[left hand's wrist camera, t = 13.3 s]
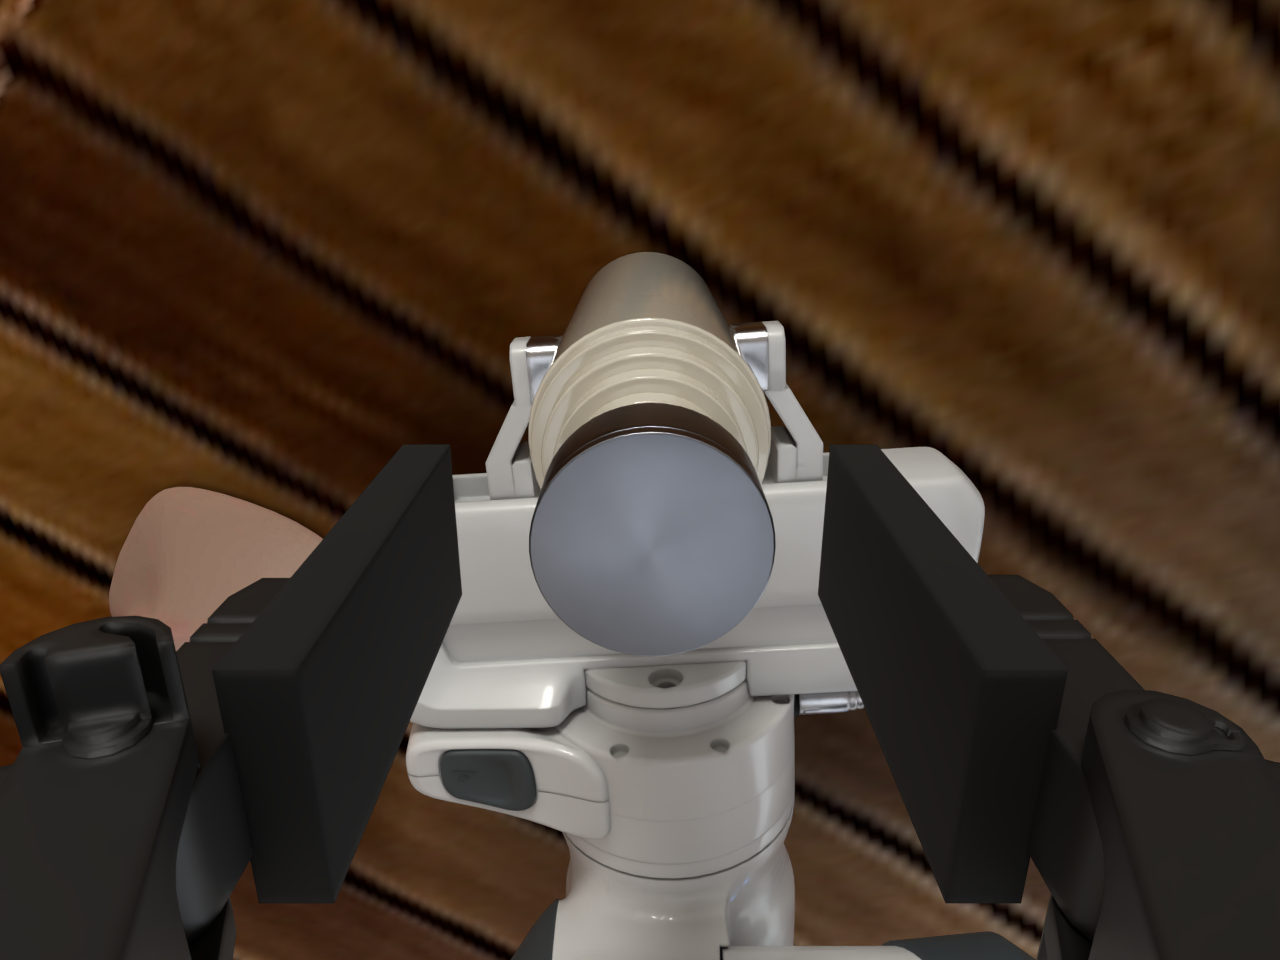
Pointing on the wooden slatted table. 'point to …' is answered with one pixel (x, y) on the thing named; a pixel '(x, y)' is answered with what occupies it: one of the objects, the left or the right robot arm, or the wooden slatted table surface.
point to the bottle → (648, 358)
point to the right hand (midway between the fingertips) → (644, 331)
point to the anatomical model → (201, 556)
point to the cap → (651, 531)
